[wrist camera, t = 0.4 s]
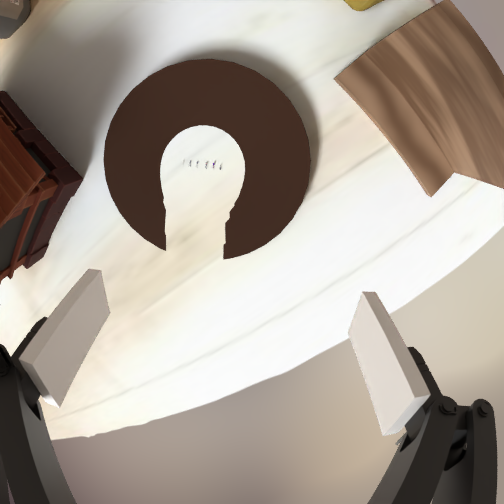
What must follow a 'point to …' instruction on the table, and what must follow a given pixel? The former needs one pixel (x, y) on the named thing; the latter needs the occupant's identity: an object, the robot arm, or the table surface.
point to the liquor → (12, 16)
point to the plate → (238, 127)
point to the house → (28, 189)
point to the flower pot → (362, 4)
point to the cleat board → (435, 97)
